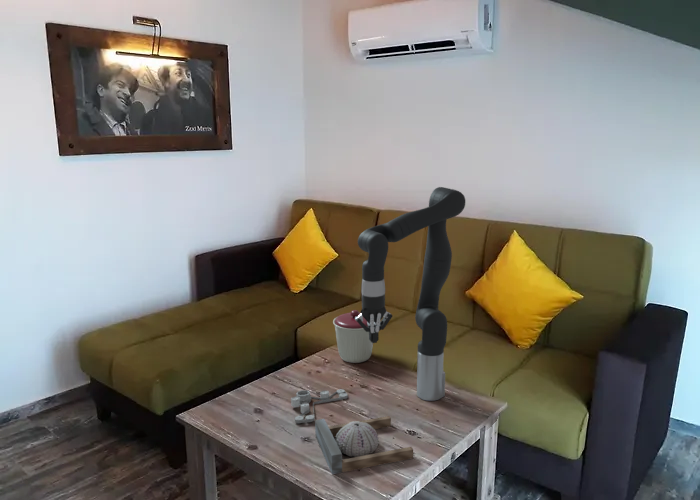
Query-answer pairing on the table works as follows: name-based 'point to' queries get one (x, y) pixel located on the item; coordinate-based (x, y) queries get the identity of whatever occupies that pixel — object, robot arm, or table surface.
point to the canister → (352, 338)
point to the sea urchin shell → (357, 439)
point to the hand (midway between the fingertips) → (373, 342)
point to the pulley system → (305, 398)
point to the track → (338, 465)
